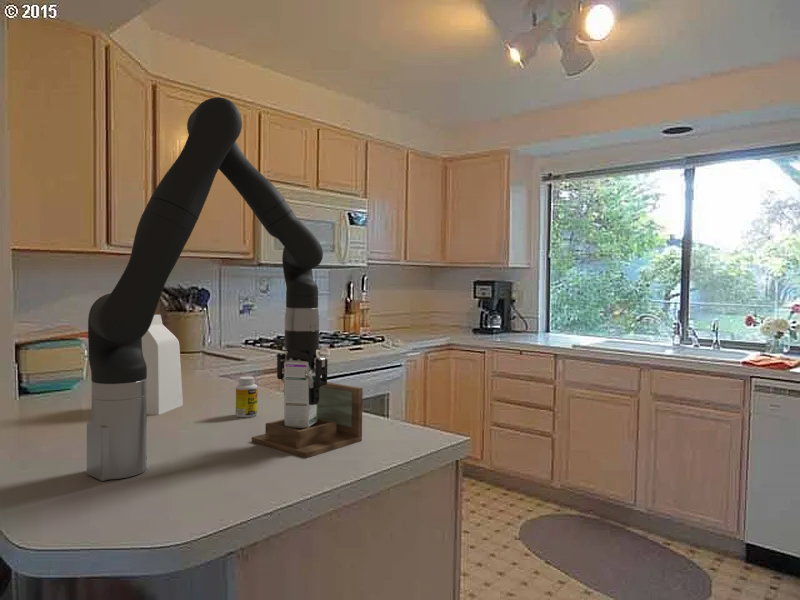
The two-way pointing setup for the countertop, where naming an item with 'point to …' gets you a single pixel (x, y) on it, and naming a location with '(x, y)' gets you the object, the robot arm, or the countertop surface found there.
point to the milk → (162, 368)
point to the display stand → (321, 424)
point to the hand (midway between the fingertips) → (301, 401)
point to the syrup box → (298, 395)
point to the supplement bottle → (246, 397)
